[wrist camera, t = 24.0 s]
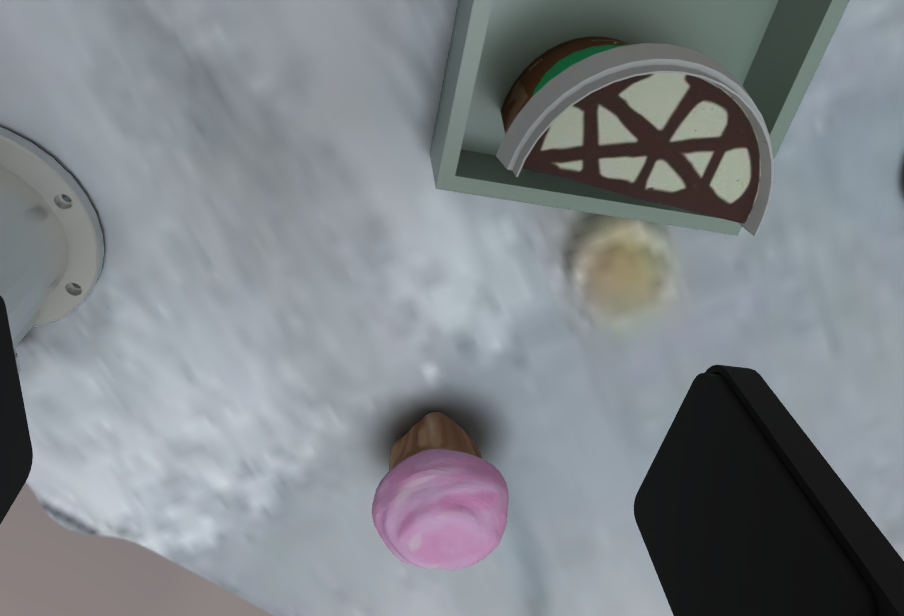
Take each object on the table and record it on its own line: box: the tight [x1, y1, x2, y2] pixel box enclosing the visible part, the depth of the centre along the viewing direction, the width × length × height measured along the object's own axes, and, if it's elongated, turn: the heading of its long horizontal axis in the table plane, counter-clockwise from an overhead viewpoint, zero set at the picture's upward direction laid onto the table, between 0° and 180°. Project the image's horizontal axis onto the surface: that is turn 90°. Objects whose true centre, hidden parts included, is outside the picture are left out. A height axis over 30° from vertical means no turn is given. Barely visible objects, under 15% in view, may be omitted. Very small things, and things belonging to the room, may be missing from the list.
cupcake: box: [372, 412, 509, 570], centre depth 44 cm, size 9×9×10 cm
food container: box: [496, 36, 774, 237], centre depth 30 cm, size 12×6×10 cm, turn 74°
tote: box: [430, 0, 849, 236], centre depth 31 cm, size 20×17×5 cm
